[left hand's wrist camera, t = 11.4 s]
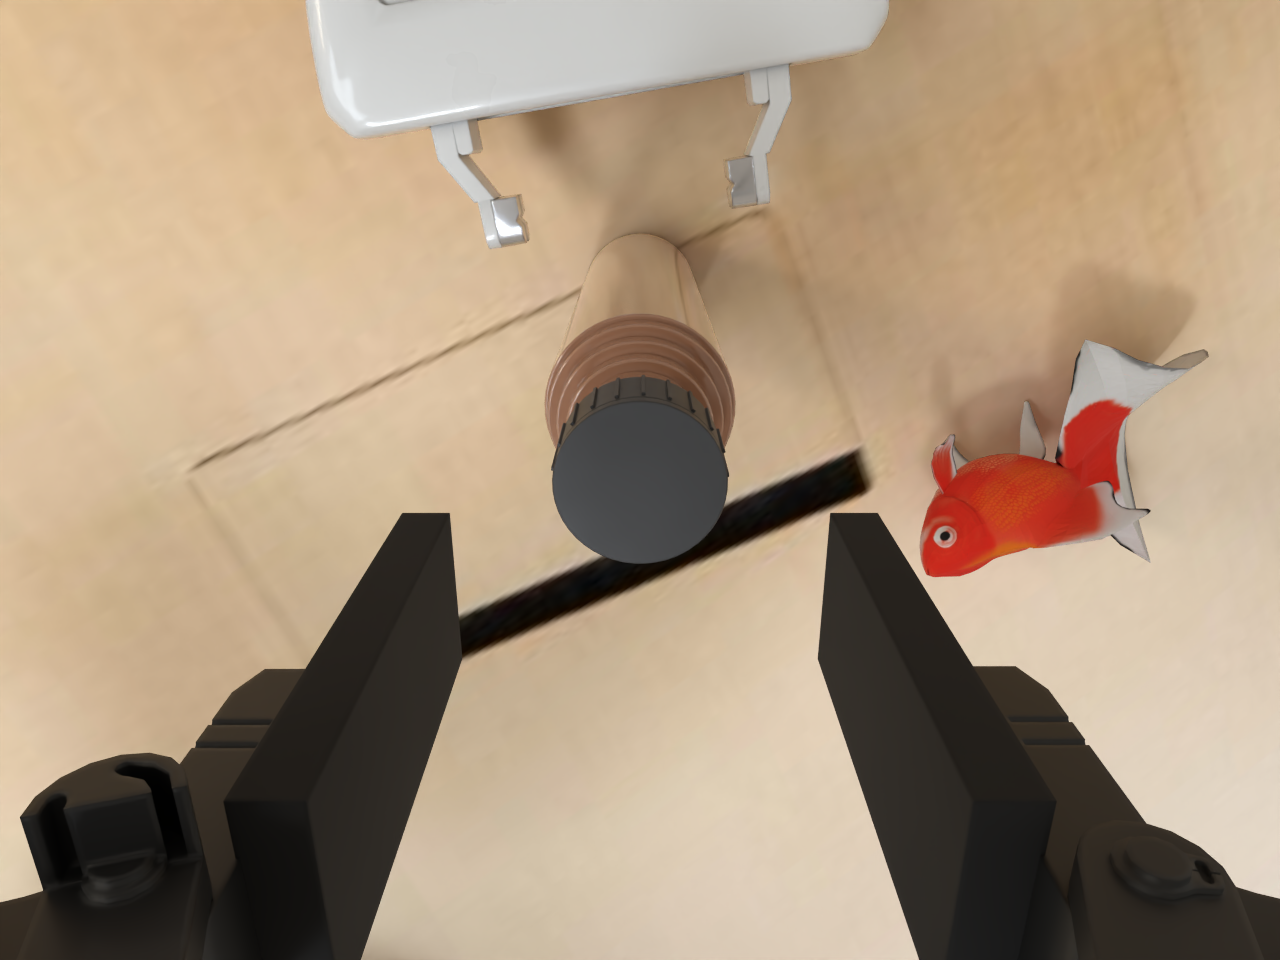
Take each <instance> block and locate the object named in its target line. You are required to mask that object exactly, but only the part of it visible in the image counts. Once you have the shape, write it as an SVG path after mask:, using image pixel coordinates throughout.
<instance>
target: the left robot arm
mask: <svg viewBox="0 0 1280 960" xmlns="http://www.w3.org/2000/svg"><path fill="white" fill-rule="evenodd" d="M461 661H462V651H461V640H460V628H459V616H458V605H457V593H456V581H455V570H454V558H453V546H452V535H451V523H450V513H402V514H401V516H400V518H399V519H398V521H397V523H396V524H395V526H394V527H393V529H392V531H391V532H390V534H389V535H388V537H387V539H386V540H385V542H384V543H383V545H382V547H381V548H380V550H379V551H378V553H377V555H376V556H375V558H374V559H373V561H372V563H371V564H370V566H369V568H368V569H367V571H366V572H365V574H364V576H363V577H362V579H361V580H360V582H359V584H358V585H357V587H356V588H355V590H354V592H353V593H352V595H351V596H350V598H349V600H348V601H347V603H346V604H345V606H344V608H343V609H342V611H341V613H340V614H339V616H338V617H337V619H336V621H335V622H334V624H333V625H332V627H331V629H330V630H329V632H328V633H327V635H326V637H325V638H324V640H323V641H322V643H321V645H320V646H319V648H318V649H317V651H316V653H315V654H314V656H313V658H312V659H311V661H310V662H309V664H308V666H307V667H306V669H264V670H263V671H262V672H260V673H259V674H257V675H256V676H255V677H253V678H252V679H250V680H249V681H248V682H246V683H245V684H243V685H242V686H240V687H239V688H238V689H236V690H235V691H233V692H232V693H231V695H230V696H229V697H228V699H227V700H226V702H225V703H224V704H223V706H222V707H221V708H220V710H219V711H218V713H217V714H216V715H215V717H214V718H213V719H212V725H208V726H207V728H206V729H205V730H204V732H203V733H202V735H201V736H200V737H199V739H198V740H197V741H196V747H195V748H191V750H190V751H189V752H188V754H187V755H186V757H185V758H184V759H183V761H182V762H181V763H180V765H179V764H178V763H177V762H176V761H175V760H174V759H172V758H171V757H166V756H162V755H157V754H152V753H140V754H126V755H119V756H115V757H112V758H108V759H104V760H101V761H97V762H94V763H90V764H88V765H86V766H84V767H82V768H80V769H78V770H76V771H73V772H71V773H69V774H67V775H65V776H63V777H61V778H59V779H58V780H57V781H55V782H54V783H53V784H51V785H50V786H49V787H47V788H46V789H45V790H44V791H42V792H41V793H40V794H38V795H37V796H36V797H35V798H34V799H33V800H32V802H31V803H30V804H29V806H28V807H27V808H26V810H25V811H24V813H23V814H22V815H21V817H20V819H21V822H22V826H23V829H24V832H25V835H26V838H27V841H28V844H29V847H30V850H31V853H32V856H33V859H34V863H35V866H36V869H37V872H38V875H39V878H40V881H41V884H42V887H43V891H42V892H38V893H35V894H32V895H29V896H25V897H21V898H17V899H13V900H9V901H5V902H0V960H361V957H362V954H363V951H364V948H365V945H366V943H367V940H368V937H369V934H370V931H371V928H372V925H373V922H374V919H375V916H376V913H377V910H378V907H379V904H380V901H381V898H382V895H383V892H384V889H385V886H386V883H387V880H388V877H389V874H390V871H391V868H392V865H393V862H394V859H395V856H396V854H397V851H398V848H399V845H400V842H401V839H402V836H403V833H404V830H405V827H406V824H407V821H408V818H409V815H410V812H411V809H412V806H413V803H414V800H415V797H416V794H417V791H418V788H419V785H420V782H421V779H422V776H423V773H424V770H425V767H426V765H427V762H428V759H429V756H430V753H431V750H432V747H433V744H434V741H435V738H436V735H437V732H438V729H439V726H440V723H441V720H442V717H443V714H444V711H445V708H446V705H447V702H448V699H449V696H450V693H451V690H452V687H453V684H454V681H455V678H456V676H457V673H458V670H459V667H460V664H461ZM818 661H819V664H820V667H821V670H822V673H823V676H824V679H825V681H826V684H827V687H828V690H829V693H830V696H831V699H832V702H833V705H834V708H835V711H836V714H837V717H838V720H839V723H840V726H841V729H842V732H843V735H844V738H845V741H846V744H847V747H848V750H849V753H850V756H851V759H852V762H853V765H854V767H855V770H856V773H857V776H858V779H859V782H860V785H861V788H862V791H863V794H864V797H865V800H866V803H867V806H868V809H869V812H870V815H871V818H872V821H873V824H874V827H875V830H876V833H877V836H878V839H879V842H880V845H881V848H882V851H883V854H884V856H885V859H886V862H887V865H888V868H889V871H890V874H891V877H892V880H893V883H894V886H895V889H896V892H897V895H898V898H899V901H900V904H901V907H902V910H903V913H904V916H905V919H906V922H907V925H908V928H909V931H910V934H911V937H912V940H913V943H914V945H915V948H916V951H917V954H918V957H919V960H1280V899H1279V898H1274V897H1270V896H1266V895H1262V894H1257V893H1254V892H1251V891H1247V890H1244V889H1241V888H1238V887H1236V886H1235V885H1234V883H1233V882H1232V880H1231V879H1230V877H1229V875H1228V874H1227V872H1226V871H1225V869H1224V868H1223V866H1221V865H1220V864H1219V863H1218V862H1217V861H1216V860H1214V859H1213V858H1212V857H1211V856H1210V855H1209V854H1207V853H1206V852H1205V851H1204V850H1203V849H1202V848H1200V847H1199V846H1197V845H1195V844H1194V843H1192V842H1190V841H1188V840H1186V839H1184V838H1183V837H1181V836H1179V835H1177V834H1175V833H1173V832H1171V831H1169V830H1165V829H1162V828H1159V827H1156V826H1153V825H1149V824H1146V822H1145V821H1144V820H1143V818H1142V817H1141V815H1140V814H1139V813H1138V811H1137V810H1136V809H1135V807H1134V806H1133V805H1132V803H1131V802H1130V800H1129V799H1128V798H1127V796H1126V795H1125V794H1124V792H1123V791H1122V790H1121V788H1120V787H1119V785H1118V784H1117V783H1116V781H1115V780H1114V779H1113V777H1112V776H1111V774H1110V773H1109V772H1108V770H1107V769H1106V768H1105V766H1104V765H1103V764H1102V762H1101V761H1100V759H1099V758H1098V757H1097V755H1096V754H1095V753H1094V751H1093V750H1092V748H1091V747H1090V746H1089V745H1085V739H1084V738H1083V736H1082V735H1081V733H1080V732H1079V731H1078V729H1077V728H1076V727H1075V725H1074V724H1073V723H1072V722H1069V721H1068V716H1067V714H1066V713H1065V712H1064V710H1063V709H1062V707H1061V706H1060V705H1059V703H1058V702H1057V701H1056V699H1055V698H1054V697H1053V695H1052V694H1051V692H1050V691H1049V690H1048V689H1047V688H1045V687H1044V686H1043V685H1041V684H1040V683H1038V682H1037V681H1035V680H1034V679H1033V678H1031V677H1030V676H1028V675H1027V674H1026V673H1024V672H1023V671H1021V670H1020V669H1019V668H1017V667H1016V666H972V664H971V662H970V661H969V659H968V658H967V656H966V654H965V653H964V651H963V649H962V648H961V646H960V645H959V643H958V641H957V640H956V638H955V637H954V635H953V633H952V632H951V630H950V629H949V627H948V625H947V624H946V622H945V621H944V619H943V617H942V616H941V614H940V613H939V611H938V609H937V608H936V606H935V604H934V603H933V601H932V600H931V598H930V596H929V595H928V593H927V592H926V590H925V588H924V587H923V585H922V584H921V582H920V580H919V579H918V577H917V576H916V574H915V572H914V571H913V569H912V568H911V566H910V564H909V563H908V561H907V559H906V558H905V556H904V555H903V553H902V551H901V550H900V548H899V547H898V545H897V543H896V542H895V540H894V539H893V537H892V535H891V534H890V532H889V531H888V529H887V527H886V526H885V524H884V523H883V521H882V519H881V518H880V516H879V514H878V513H830V523H829V535H828V546H827V558H826V570H825V581H824V593H823V605H822V616H821V628H820V640H819V651H818Z"/></svg>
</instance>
